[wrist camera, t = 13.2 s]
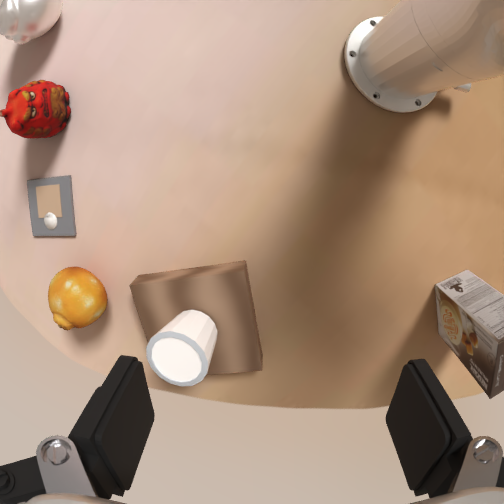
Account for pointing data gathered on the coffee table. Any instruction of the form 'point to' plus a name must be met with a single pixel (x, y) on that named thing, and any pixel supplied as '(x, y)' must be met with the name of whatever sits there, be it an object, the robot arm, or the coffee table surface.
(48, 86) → the red clay folk toy
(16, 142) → the coffee table surface
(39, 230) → the card
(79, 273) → the fruit
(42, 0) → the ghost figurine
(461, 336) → the coffee box
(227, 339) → the walnut block
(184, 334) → the shot glass
